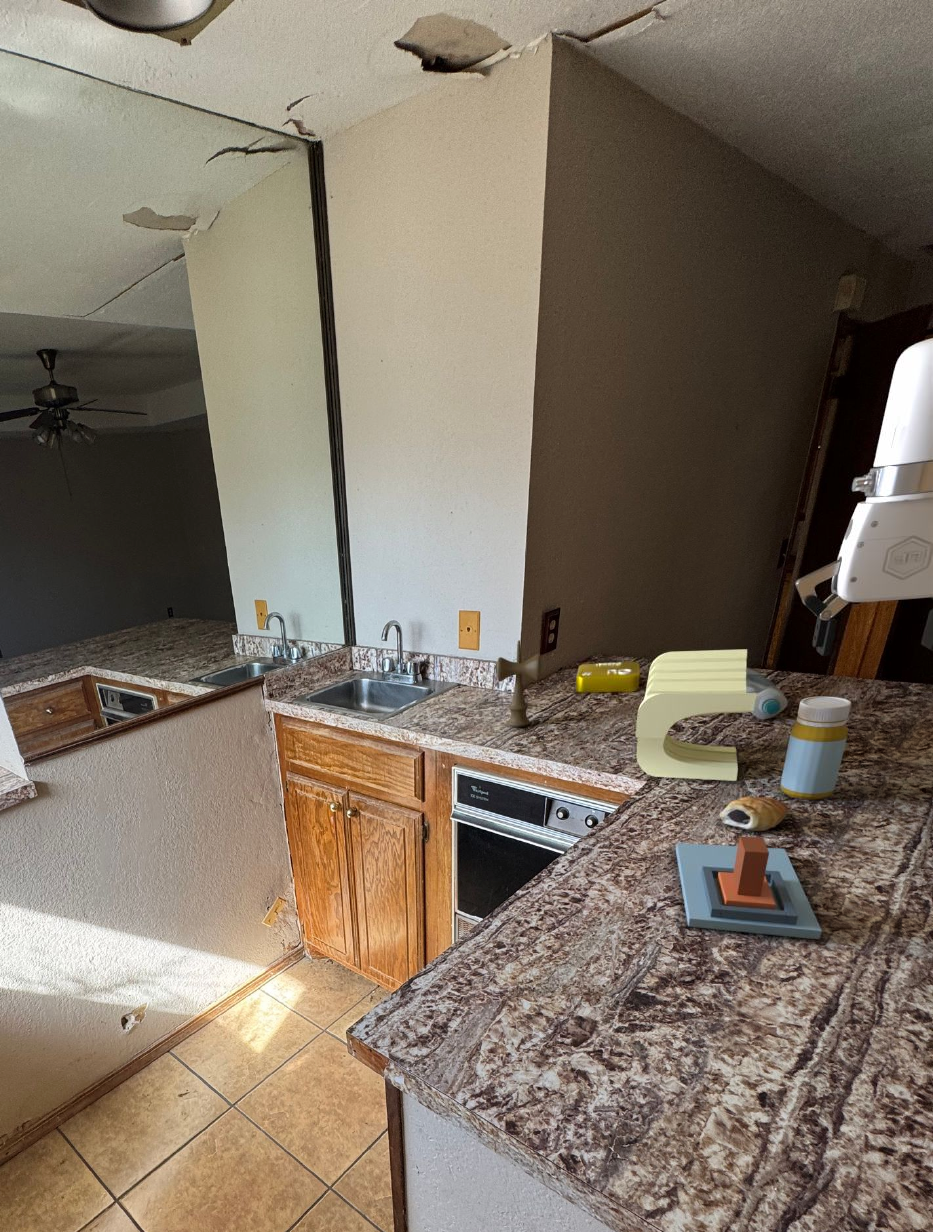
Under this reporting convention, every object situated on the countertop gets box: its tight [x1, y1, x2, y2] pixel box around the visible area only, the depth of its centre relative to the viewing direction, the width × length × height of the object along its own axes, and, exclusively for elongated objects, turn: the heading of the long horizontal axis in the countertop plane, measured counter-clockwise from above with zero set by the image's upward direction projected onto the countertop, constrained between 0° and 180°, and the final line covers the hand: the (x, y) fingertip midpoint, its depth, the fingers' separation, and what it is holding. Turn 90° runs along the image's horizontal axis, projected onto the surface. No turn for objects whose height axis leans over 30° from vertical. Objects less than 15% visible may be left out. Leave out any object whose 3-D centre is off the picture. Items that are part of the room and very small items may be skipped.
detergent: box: [746, 666, 789, 721], centre depth 142 cm, size 13×7×25 cm
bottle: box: [779, 695, 852, 801], centre depth 102 cm, size 7×7×15 cm
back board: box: [675, 842, 823, 940], centre depth 84 cm, size 13×20×2 cm, turn 157°
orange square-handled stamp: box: [717, 835, 776, 910], centre depth 79 cm, size 5×7×8 cm
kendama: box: [496, 639, 542, 728], centre depth 150 cm, size 6×10×20 cm, turn 71°
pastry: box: [719, 796, 789, 832], centre depth 98 cm, size 9×7×4 cm
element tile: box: [575, 661, 641, 694], centre depth 173 cm, size 15×15×5 cm
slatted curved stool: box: [635, 649, 757, 782], centre depth 117 cm, size 30×16×18 cm, turn 151°
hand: (874, 650), depth 74 cm, fingers open, 9 cm apart
